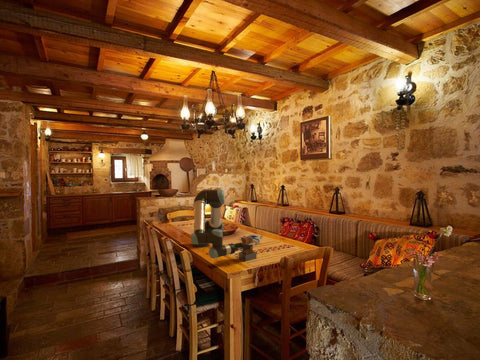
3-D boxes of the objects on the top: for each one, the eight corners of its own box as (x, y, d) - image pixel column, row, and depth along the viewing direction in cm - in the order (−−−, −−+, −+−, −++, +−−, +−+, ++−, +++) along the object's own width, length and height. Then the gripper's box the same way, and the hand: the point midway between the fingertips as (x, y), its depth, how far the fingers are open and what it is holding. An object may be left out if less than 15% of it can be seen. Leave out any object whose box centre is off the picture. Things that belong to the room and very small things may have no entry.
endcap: (245, 261, 198) (245, 255, 198) (238, 258, 204) (238, 252, 204) (256, 258, 205) (256, 252, 204) (249, 255, 211) (249, 249, 211)
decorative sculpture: (251, 242, 239) (234, 235, 264) (251, 246, 239) (234, 239, 264) (274, 238, 254) (255, 232, 279) (274, 241, 254) (255, 235, 279)
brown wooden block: (245, 256, 200) (245, 238, 200) (242, 255, 204) (242, 237, 204) (252, 255, 205) (252, 237, 204) (249, 253, 208) (249, 236, 208)
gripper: (221, 251, 200) (245, 246, 214) (235, 257, 186) (260, 251, 201) (221, 241, 200) (245, 237, 214) (235, 246, 186) (260, 241, 200)
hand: (252, 243), depth 207 cm, fingers closed on brown wooden block, 4 cm apart
